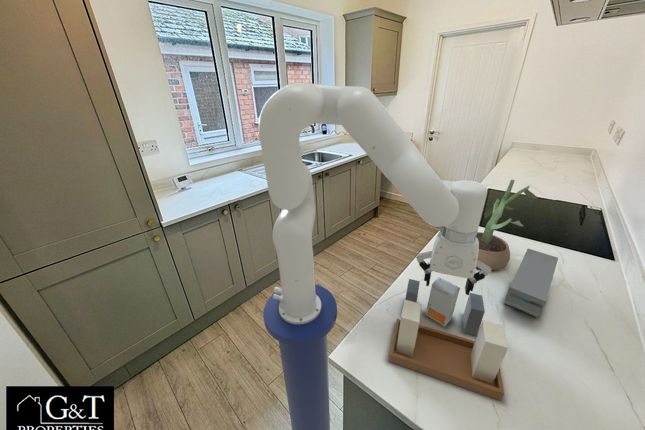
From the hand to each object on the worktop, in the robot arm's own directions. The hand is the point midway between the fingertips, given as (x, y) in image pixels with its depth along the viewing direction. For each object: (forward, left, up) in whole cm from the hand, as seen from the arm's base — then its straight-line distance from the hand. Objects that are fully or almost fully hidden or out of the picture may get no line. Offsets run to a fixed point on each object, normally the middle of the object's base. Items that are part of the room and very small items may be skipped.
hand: (446, 287), depth 70 cm
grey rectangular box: (+24, +17, -12) cm, 31 cm away
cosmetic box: (0, 0, -12) cm, 12 cm away
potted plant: (+16, +38, -12) cm, 43 cm away
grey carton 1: (-8, 0, -11) cm, 14 cm away
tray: (+1, -13, -11) cm, 17 cm away
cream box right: (+9, -13, -11) cm, 19 cm away
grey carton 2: (+8, 0, -11) cm, 14 cm away
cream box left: (-8, -13, -11) cm, 19 cm away
